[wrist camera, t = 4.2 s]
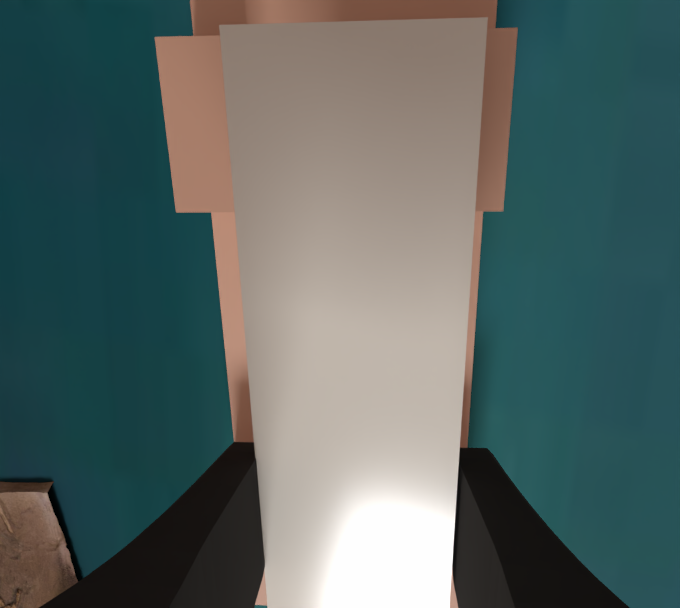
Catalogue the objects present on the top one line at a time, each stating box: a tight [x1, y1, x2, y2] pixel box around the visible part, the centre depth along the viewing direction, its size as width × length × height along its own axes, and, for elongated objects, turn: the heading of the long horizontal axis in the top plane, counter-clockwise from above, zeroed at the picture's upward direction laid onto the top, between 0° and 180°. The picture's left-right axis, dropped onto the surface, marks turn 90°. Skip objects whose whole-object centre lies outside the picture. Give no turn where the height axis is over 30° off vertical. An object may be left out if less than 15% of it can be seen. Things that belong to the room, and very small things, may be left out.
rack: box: [155, 0, 518, 608], centre depth 18 cm, size 8×19×4 cm, turn 1°
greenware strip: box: [219, 17, 488, 608], centre depth 14 cm, size 4×16×6 cm, turn 1°
